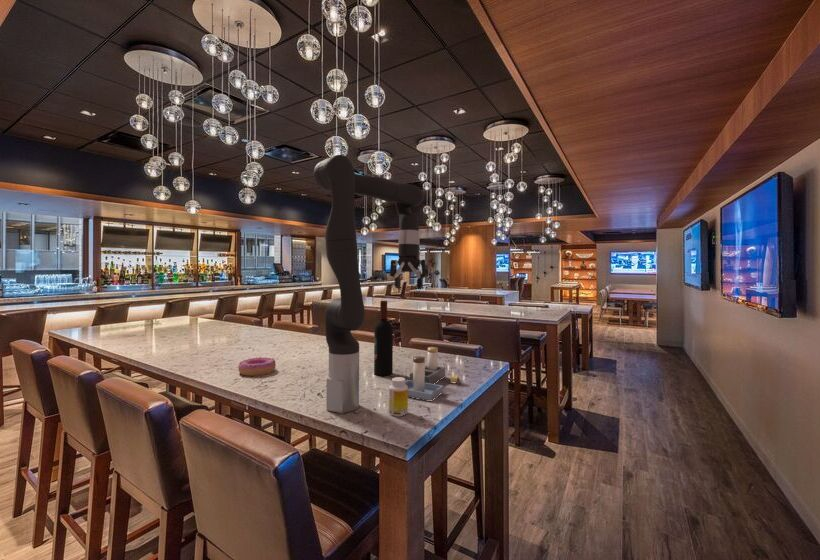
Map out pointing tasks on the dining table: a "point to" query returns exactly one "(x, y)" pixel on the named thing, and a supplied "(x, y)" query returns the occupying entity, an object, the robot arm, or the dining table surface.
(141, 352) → the dining table surface
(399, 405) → the supplement bottle
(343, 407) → the robot arm
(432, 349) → the cylinder
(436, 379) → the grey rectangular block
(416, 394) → the parts tray
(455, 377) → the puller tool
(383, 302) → the wine bottle
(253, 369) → the donut
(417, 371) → the cylinder
